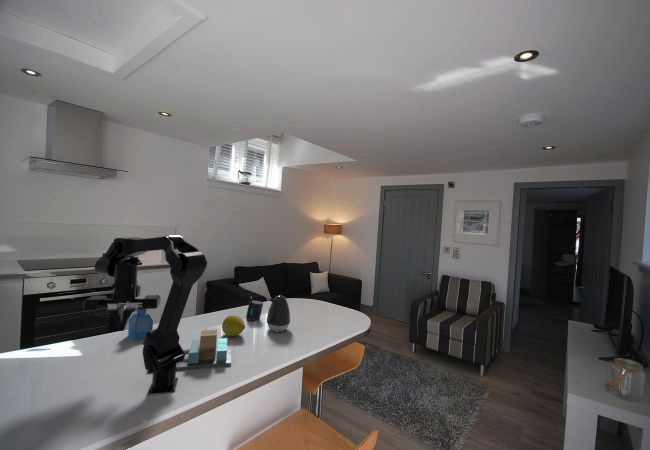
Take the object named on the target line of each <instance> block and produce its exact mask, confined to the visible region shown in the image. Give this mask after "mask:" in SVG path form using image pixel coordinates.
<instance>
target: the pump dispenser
mask: <svg viewBox="0 0 650 450" xmlns="http://www.w3.org/2000/svg"><path fill="white" fill-rule="evenodd" d="M269 302H271V303H270V306H269V308H268V312H267V317H266V324H267V327H268V328H269V330H270V331H272V332H274V333H280V332H284V331H286V330H287V329H288V327H289V325H290V324H291V313H290V306H289V304H288V303H289V302H288V300H287V298H286V297H285V296H283V295H282V294H280V295H276V296H275V297H274V298H270V299H269Z"/></svg>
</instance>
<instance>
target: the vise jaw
mask: <svg viewBox="0 0 650 450" xmlns="http://www.w3.org/2000/svg"><path fill="white" fill-rule="evenodd" d="M190 343H191V344H190V347H189V348H182V350H183V351H184V353H185V354H189V356H188V364H194V363H198V362H199V351H200V339H191V342H190ZM169 356H170V355H169ZM167 357H168V356H167ZM164 358H166V357H164ZM164 358H162V359H164ZM162 359H161V360H162Z"/></svg>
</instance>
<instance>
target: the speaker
mask: <svg viewBox="0 0 650 450" xmlns="http://www.w3.org/2000/svg"><path fill="white" fill-rule="evenodd" d="M263 306H264V302H262V301H260V300H253V297H252V296H250V298H249V303H248V305H247V311H246V315H245V318H246V321H248V320H250V321H253V322H254V321H255V322H256V321H260V319H261V315H262V311H263Z"/></svg>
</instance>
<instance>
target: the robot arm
mask: <svg viewBox="0 0 650 450" xmlns="http://www.w3.org/2000/svg"><path fill="white" fill-rule="evenodd" d="M175 250H177V251H178V252H180V253H177V252H176V251H175ZM152 251H153V252H154V251H164V255H165V261H166V262H167V264H168V265H169V266H170V270H169V271H170V272H169V273H170V276H171V279H172V284H171V286H170V287H171V288H170V289H169V293H168V296H167V298H166V301H165V305H164V308H163V311H162V313H161V316H160V320H159V323H158V325H157V327H156V328H153V330H151V331H148V332H147V334H146V338H145V339H144V341H143V342H142V346H143V347H142V358H143V364H144V368H145V370H148V374H151V373H152V376H151V377H152V379H151V380H152V381H151V384H150V387H149V389H148V391H147V395H154V394H163V393H164V394H165V393H174V392H175V391H176V388H177V384H178V380H179V378H178V377H176V375H177V370H176V364H177V363H179V362H181V361H183V360H184V357H185V353H184V351H183V350H182V349H183V348H182V347H181V345H180V334H179V332H178V328H179V325H180V322H181V319H182V316H183V314H184V311H185V308H186V304H187V303H188V299H189V296H190V293H191V291H192V288H193V286H194V284H196V282H198V280H200V279H201V278H202V276H203V274H204V272H205V271H206V269H207V267H208V260H207V258H206V256H205V254H204V253H203V252H201V251H200V250H199V249H198V248H197V247H196V246H194V245H193V244H191V243H190V242H188V241H187V240H185V238H184V237H183V236H181V235H179V234H174V235H173V234H171V235H170V234H169V235H164V236H158V237H149V238H144V237H138V236H136V237H135V236H134V237H130V236H129V237H115V238H114V239H113V242H111V244H110V246H109V247H108V249H107V251H106V252H105V253H104V252H103V253H102V256H100V257H99V258H98V259H97V261H96V262H95V264H94V270H95V272H96V273H97V274H99V275H101V276H102V275H103V276H108V277H111V278H113V283H112V284H111V285H112V287H111V288H112V292H113V293H112V298H108V297H107V295H91V296H90V297H89V298H86V299H85V300H84V301H83V303H82V304H83V305H82V311H96V310H97V309H99V307H100V306H101V307H102V306H104V307H106V306H107V309H106V313H110V315H111V316H112V318H113V319H114V322H115V323H116V325H117V327H118V329H119V331H120V332H123V331H125V330H126V327H127V324H129V319H130V318H131V317H132V315H133V313H135V312H136V310H137V309H138V308H139V306H140V305H142V307H143V308H144V309H147V310H149V309H150V310H152V309H158V308H159V306H160V305H161V300H162V298H161V296H160V295H159V294H156V295H155V294H150V295H149V294H147V295H145V296H144V298H139V297H140V295H141V288H142V287H141V286H140V285H138V280H137V279H138V266H142V265H143V262H142V261H141V260H140V259H139V258H138V256H142V255H144V254H146V253H147V252H152ZM124 307H126V308H124ZM169 355H170V356H169ZM167 356H168V357H167ZM164 357H166V358H164ZM162 358H164V359H162ZM160 359H162V360H160ZM158 360H160V361H158Z"/></svg>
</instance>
